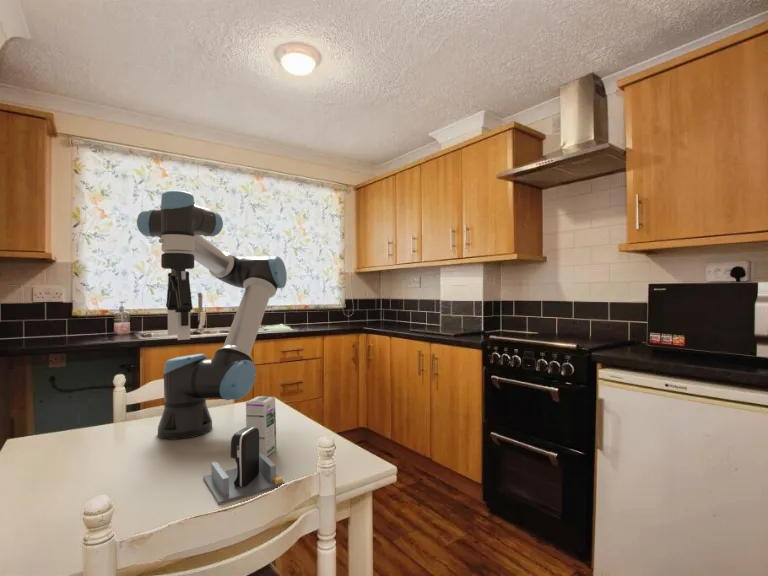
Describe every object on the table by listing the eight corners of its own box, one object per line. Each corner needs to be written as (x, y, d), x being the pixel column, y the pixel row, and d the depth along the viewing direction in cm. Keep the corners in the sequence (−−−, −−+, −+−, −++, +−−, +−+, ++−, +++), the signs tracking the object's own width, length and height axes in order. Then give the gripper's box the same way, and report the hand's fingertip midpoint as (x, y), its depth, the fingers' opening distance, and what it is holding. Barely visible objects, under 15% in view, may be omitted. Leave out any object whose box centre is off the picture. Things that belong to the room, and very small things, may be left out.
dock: (203, 479, 95) (203, 461, 95) (263, 463, 103) (263, 447, 103) (219, 504, 83) (218, 484, 83) (284, 485, 92) (284, 466, 92)
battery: (245, 473, 97) (245, 424, 97) (260, 474, 96) (260, 425, 96) (228, 487, 90) (227, 434, 90) (244, 488, 89) (243, 435, 89)
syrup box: (266, 458, 106) (266, 402, 107) (245, 456, 108) (245, 400, 108) (276, 449, 112) (276, 396, 112) (256, 448, 113) (256, 395, 113)
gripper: (154, 255, 112) (154, 333, 112) (170, 248, 92) (170, 343, 92) (184, 256, 117) (184, 331, 117) (205, 250, 97) (206, 340, 97)
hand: (178, 337), depth 105 cm, fingers open, 13 cm apart
